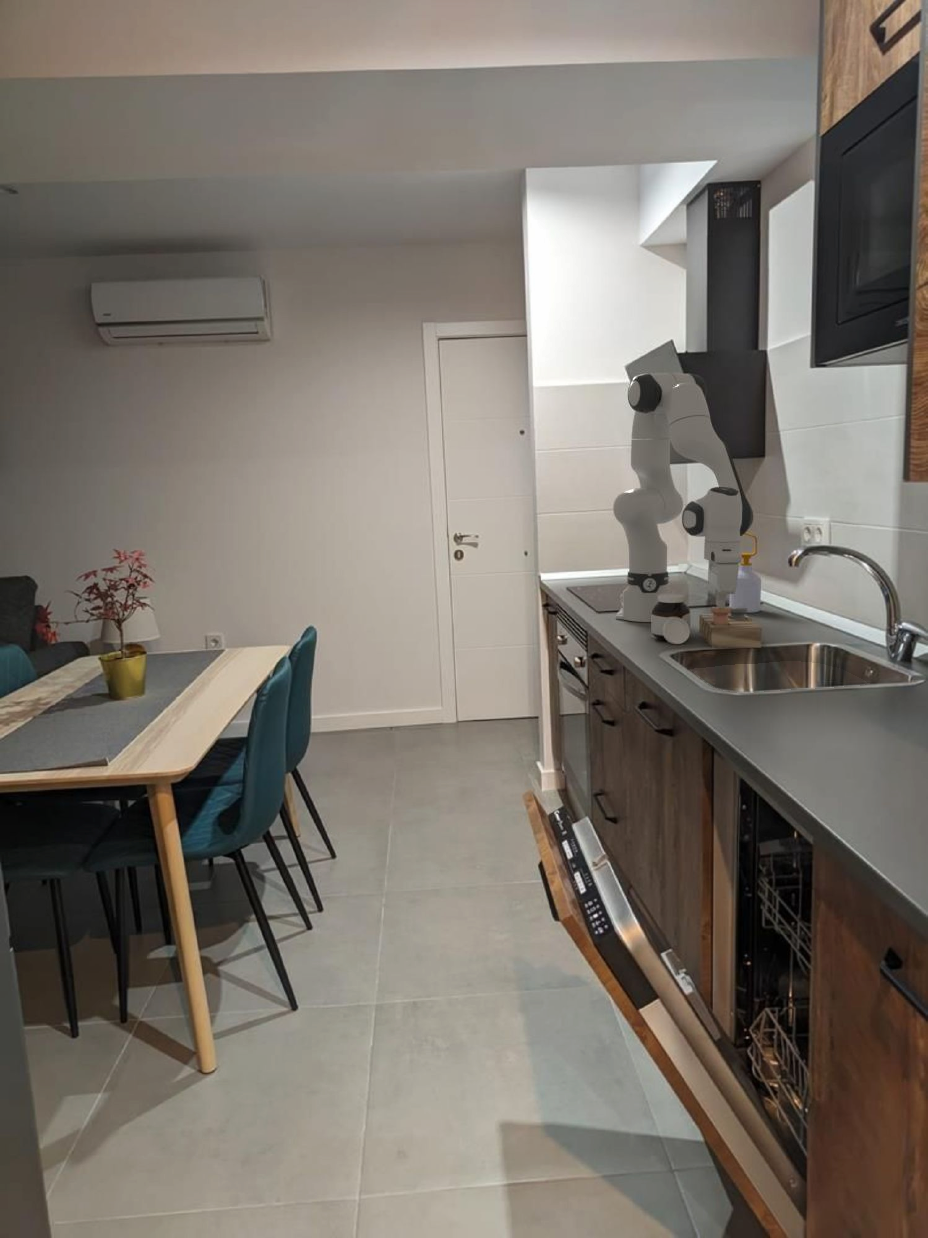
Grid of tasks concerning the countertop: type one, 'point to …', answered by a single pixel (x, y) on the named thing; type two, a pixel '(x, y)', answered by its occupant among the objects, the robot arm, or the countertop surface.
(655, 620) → the spread jar
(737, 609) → the grey plug
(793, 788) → the countertop surface
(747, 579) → the soap bottle
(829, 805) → the countertop surface
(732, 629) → the oak block
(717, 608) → the terracotta plug
